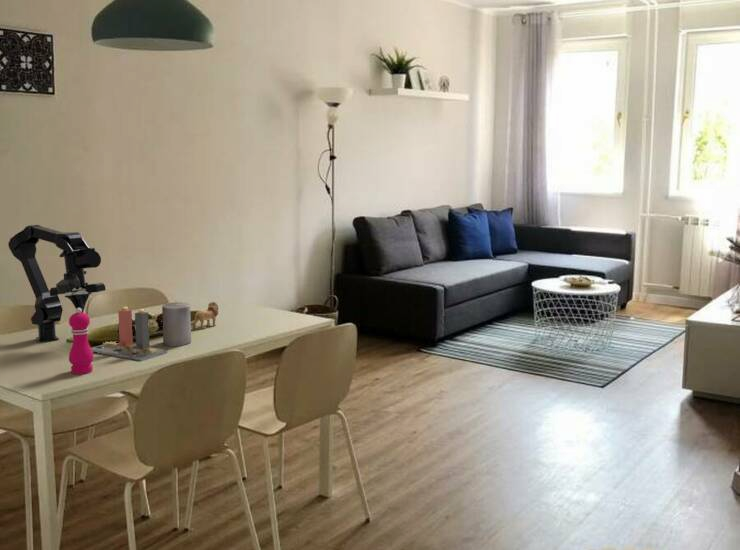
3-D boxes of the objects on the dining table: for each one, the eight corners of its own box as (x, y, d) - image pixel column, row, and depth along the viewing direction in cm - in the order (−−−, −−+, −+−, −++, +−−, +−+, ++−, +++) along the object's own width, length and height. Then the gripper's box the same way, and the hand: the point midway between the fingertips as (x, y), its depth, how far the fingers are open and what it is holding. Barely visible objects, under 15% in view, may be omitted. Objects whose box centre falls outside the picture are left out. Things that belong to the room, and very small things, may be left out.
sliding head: (114, 349, 271) (112, 308, 269) (126, 346, 276) (124, 306, 274) (121, 350, 270) (119, 309, 267) (133, 347, 274) (131, 307, 272)
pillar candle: (163, 340, 290) (162, 299, 287) (191, 338, 292) (190, 298, 289) (162, 347, 280) (161, 304, 278) (191, 345, 282) (190, 303, 280)
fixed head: (131, 352, 268) (129, 311, 265) (142, 348, 272) (141, 308, 270) (137, 353, 266) (136, 312, 264) (149, 349, 271) (147, 309, 269)
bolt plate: (88, 351, 273) (88, 345, 273) (115, 344, 283) (114, 338, 283) (141, 360, 262) (140, 354, 261) (167, 352, 272) (166, 347, 272)
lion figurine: (210, 322, 319) (210, 300, 317) (222, 324, 316) (221, 301, 315) (188, 330, 305) (187, 307, 304) (200, 331, 303) (199, 308, 302)
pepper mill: (64, 372, 248) (60, 308, 245) (83, 367, 254) (80, 304, 251) (80, 376, 244) (76, 311, 241) (99, 370, 250) (96, 307, 247)
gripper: (36, 273, 273) (42, 319, 274) (84, 269, 268) (90, 316, 269) (57, 270, 283) (63, 314, 285) (103, 266, 278) (109, 311, 279)
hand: (80, 314), depth 279 cm, fingers closed
